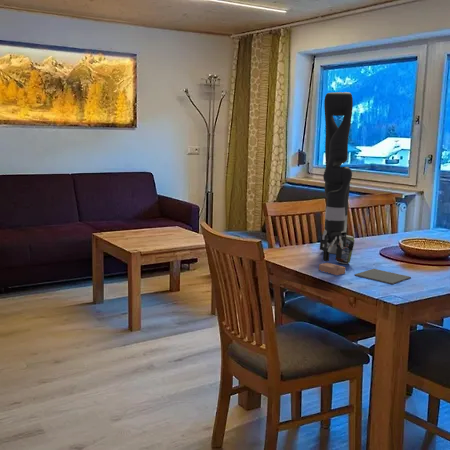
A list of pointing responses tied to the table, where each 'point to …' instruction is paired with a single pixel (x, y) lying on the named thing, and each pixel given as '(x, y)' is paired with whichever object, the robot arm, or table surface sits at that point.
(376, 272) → the mat
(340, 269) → the tan rectangular block
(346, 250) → the beverage can
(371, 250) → the table surface
